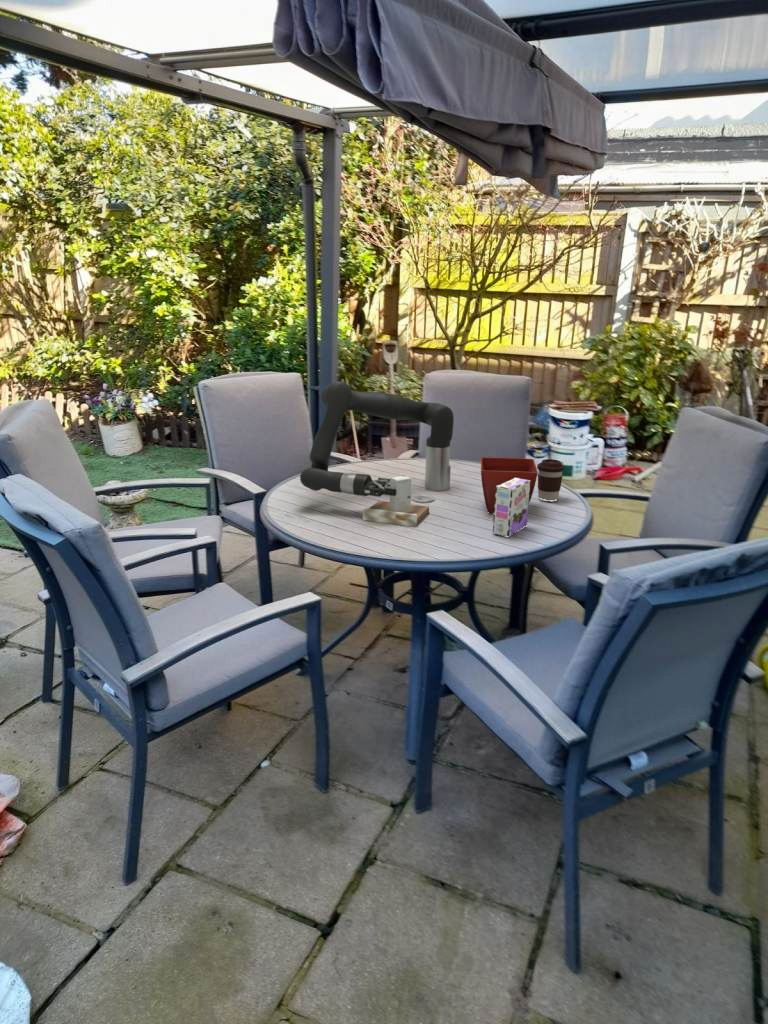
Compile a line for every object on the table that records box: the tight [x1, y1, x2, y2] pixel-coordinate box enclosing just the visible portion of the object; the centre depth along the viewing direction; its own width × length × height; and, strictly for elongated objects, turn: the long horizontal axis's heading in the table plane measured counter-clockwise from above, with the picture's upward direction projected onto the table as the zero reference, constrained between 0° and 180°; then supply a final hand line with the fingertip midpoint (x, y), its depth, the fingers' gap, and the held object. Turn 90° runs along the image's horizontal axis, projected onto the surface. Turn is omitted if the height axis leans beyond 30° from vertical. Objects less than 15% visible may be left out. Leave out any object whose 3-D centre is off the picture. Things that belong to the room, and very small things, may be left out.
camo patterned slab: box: [362, 500, 430, 527], centre depth 232 cm, size 19×16×4 cm
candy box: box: [492, 478, 530, 536], centre depth 217 cm, size 14×6×16 cm, turn 143°
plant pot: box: [480, 456, 539, 514], centre depth 239 cm, size 19×19×17 cm
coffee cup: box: [536, 458, 565, 500], centre depth 251 cm, size 10×10×15 cm
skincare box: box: [389, 475, 412, 513], centre depth 228 cm, size 6×4×12 cm
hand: (400, 489), depth 227 cm, fingers open, 8 cm apart
